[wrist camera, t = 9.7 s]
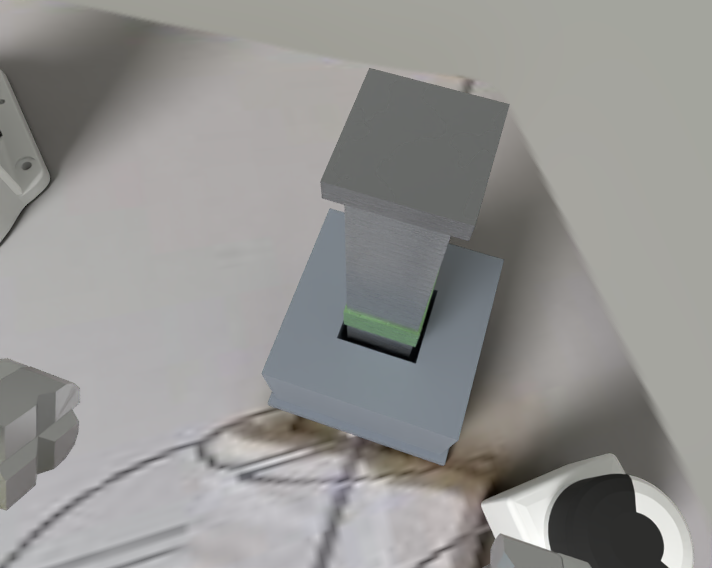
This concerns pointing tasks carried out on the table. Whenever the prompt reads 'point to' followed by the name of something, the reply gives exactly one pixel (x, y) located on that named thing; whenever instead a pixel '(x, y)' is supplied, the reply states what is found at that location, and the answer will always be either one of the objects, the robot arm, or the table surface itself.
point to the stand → (383, 353)
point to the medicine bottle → (595, 517)
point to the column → (406, 197)
